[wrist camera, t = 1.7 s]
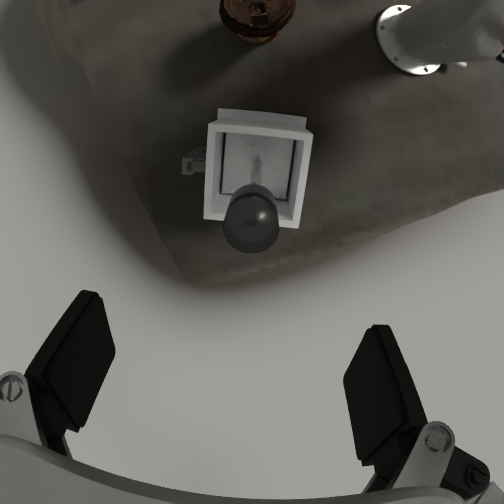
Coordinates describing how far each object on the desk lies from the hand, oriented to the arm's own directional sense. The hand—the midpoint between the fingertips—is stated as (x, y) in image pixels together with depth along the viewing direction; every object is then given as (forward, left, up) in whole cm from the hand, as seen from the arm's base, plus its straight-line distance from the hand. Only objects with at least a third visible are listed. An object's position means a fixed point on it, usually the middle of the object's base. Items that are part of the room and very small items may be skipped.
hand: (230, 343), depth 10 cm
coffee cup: (+2, -20, -38) cm, 43 cm away
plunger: (0, 0, -30) cm, 30 cm away
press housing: (0, 0, -38) cm, 38 cm away
